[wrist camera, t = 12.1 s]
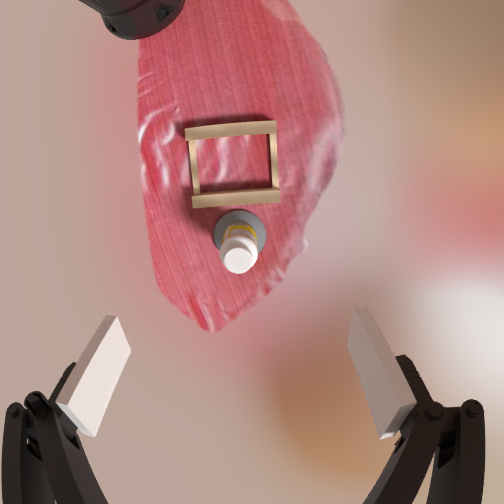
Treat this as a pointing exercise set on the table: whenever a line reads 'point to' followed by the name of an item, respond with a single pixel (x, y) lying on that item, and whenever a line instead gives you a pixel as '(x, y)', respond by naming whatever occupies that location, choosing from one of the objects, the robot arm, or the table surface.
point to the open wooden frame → (233, 195)
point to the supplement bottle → (239, 247)
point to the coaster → (240, 217)
